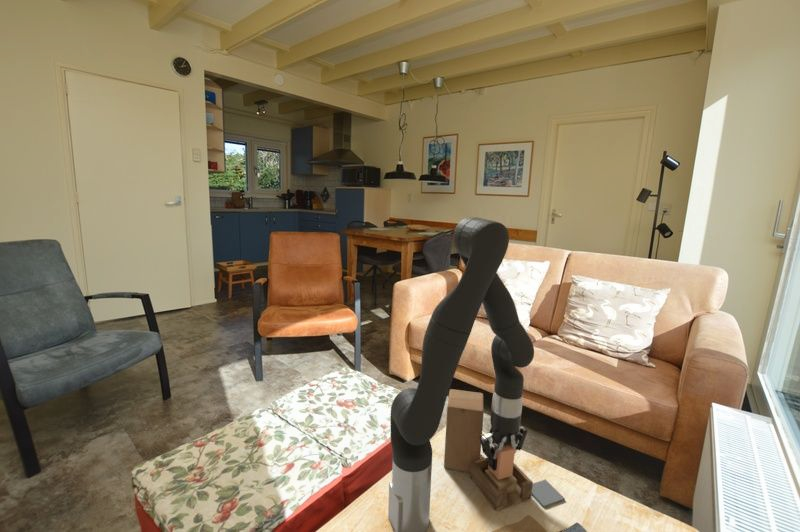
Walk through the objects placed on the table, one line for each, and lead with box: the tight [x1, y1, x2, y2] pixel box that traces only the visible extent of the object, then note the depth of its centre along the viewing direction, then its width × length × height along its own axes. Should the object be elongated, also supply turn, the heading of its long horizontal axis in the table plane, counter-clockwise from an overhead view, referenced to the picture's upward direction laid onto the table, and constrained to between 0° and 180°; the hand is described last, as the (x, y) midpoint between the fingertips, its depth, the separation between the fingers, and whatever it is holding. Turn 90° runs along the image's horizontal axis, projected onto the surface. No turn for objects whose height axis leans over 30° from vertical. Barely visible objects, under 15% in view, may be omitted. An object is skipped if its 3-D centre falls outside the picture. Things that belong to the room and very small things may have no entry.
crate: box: [470, 456, 534, 512], centre depth 102 cm, size 11×12×5 cm
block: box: [488, 444, 516, 480], centre depth 101 cm, size 4×4×8 cm
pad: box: [531, 479, 566, 509], centre depth 101 cm, size 7×7×1 cm
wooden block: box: [443, 388, 485, 474], centre depth 111 cm, size 10×10×20 cm
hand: (500, 465), depth 101 cm, fingers closed on block, 4 cm apart
